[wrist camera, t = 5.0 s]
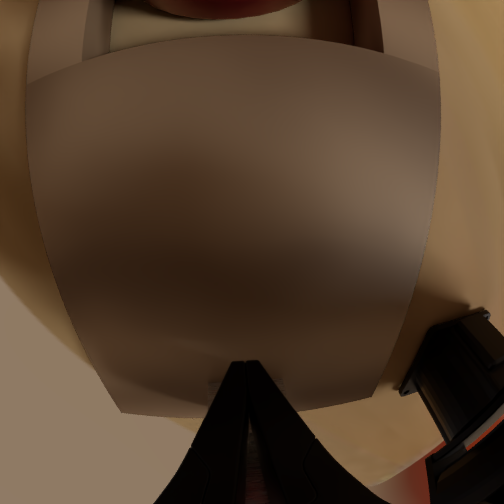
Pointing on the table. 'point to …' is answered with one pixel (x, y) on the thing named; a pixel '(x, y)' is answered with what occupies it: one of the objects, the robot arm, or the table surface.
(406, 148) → the brown piece
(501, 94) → the table surface
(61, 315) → the table surface
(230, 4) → the soda can
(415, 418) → the table surface
